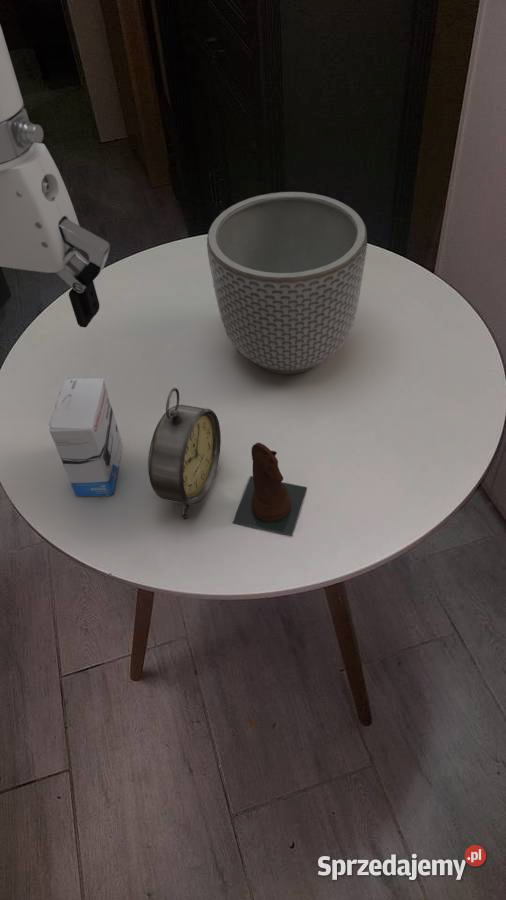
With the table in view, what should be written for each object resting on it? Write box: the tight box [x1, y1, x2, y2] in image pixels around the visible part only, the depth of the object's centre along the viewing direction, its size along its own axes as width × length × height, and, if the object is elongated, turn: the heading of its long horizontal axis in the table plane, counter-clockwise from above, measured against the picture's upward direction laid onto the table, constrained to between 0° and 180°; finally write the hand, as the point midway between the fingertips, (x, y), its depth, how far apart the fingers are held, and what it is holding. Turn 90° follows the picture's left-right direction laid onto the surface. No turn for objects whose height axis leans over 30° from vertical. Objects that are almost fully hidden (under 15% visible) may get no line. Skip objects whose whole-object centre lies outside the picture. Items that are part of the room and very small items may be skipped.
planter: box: [206, 191, 368, 375], centre depth 90 cm, size 20×20×19 cm
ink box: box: [48, 377, 123, 497], centre depth 80 cm, size 8×5×12 cm, turn 179°
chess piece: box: [251, 442, 291, 522], centre depth 76 cm, size 5×5×10 cm
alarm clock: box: [147, 387, 222, 520], centre depth 76 cm, size 11×5×16 cm, turn 161°
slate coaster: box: [232, 475, 308, 537], centre depth 80 cm, size 7×7×1 cm
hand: (44, 311), depth 67 cm, fingers open, 9 cm apart
